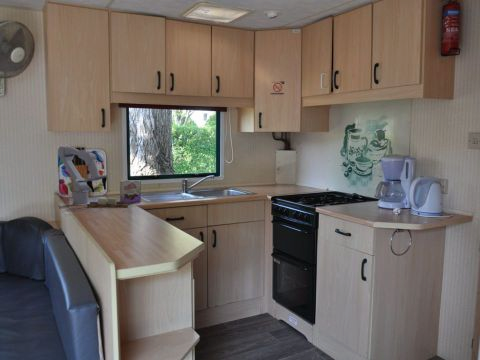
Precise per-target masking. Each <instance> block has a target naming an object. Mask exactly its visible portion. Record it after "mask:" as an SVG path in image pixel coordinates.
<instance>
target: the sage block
mask: <svg viewBox="0 0 480 360" xmlns="http://www.w3.org/2000/svg"><path fill="white" fill-rule="evenodd" d="M107 202H108V204H116V202H117V197H107Z"/></svg>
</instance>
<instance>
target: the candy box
mask: <svg viewBox="0 0 480 360" xmlns="http://www.w3.org/2000/svg"><path fill="white" fill-rule="evenodd" d="M141 183H142V181H141V180H132V179H131V180H128V179H127V180H123V179H121V180H120V186H119V199H120V200H119V202H129V203H141V198H142V197H141V194H142V193H141V191H142V190H141V188H142V187H141V185H142V184H141Z"/></svg>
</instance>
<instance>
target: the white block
mask: <svg viewBox="0 0 480 360" xmlns="http://www.w3.org/2000/svg"><path fill="white" fill-rule="evenodd" d="M97 202H98V204H107V202H108V197H98V198H97Z"/></svg>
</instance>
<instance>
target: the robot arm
mask: <svg viewBox="0 0 480 360" xmlns="http://www.w3.org/2000/svg"><path fill="white" fill-rule="evenodd" d="M57 155H58V156H59V158H60V159H61V161H62V164H63V166H64V167H65V168H66V170H67V172H68V174H69V175H70V176H71V179H72V180H73V182H72V186H73V189H74V192H73V193H72V204H74V205H77V204H78V205H86V204H89V192H90V190H91V192H92V193H95V188H94V185H93V182H94V181H100V180H101V183H102V186H103V190H104V191H106V190H107V180H108V177H109V176H108V174H104V175H101V173H100V170H99V166H98V163H97V160H98V156H97V154H96V153H91V152H90V151H86V149H81V150H80V149H77V148H76V147H75V146H59V147H58V149H57ZM75 156H77V157H78V158H79V159H81V160H83V161H84V162H85V164H86V165H87V168H88V171H89V172H88V173H89V175H90V177H89V178H84V177H82V174H80V173H79V171H78V169H77V167H76V166H75V165H74V162H73V160H74V157H75Z"/></svg>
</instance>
